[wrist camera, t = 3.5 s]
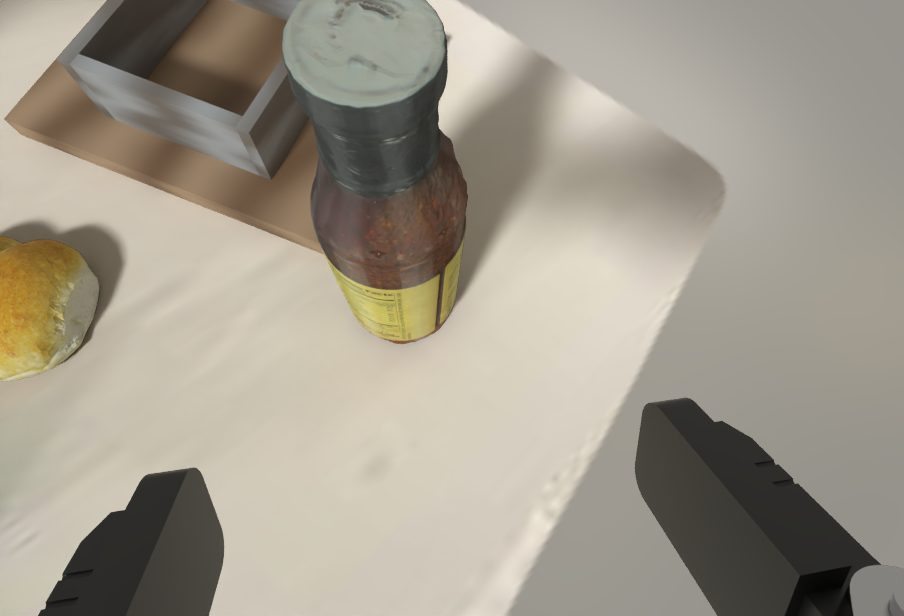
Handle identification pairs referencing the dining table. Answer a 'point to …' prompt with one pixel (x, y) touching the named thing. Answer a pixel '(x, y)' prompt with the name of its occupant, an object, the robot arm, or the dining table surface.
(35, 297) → the bread roll
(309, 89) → the sauce bottle
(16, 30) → the dining table surface
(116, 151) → the bottle stand
